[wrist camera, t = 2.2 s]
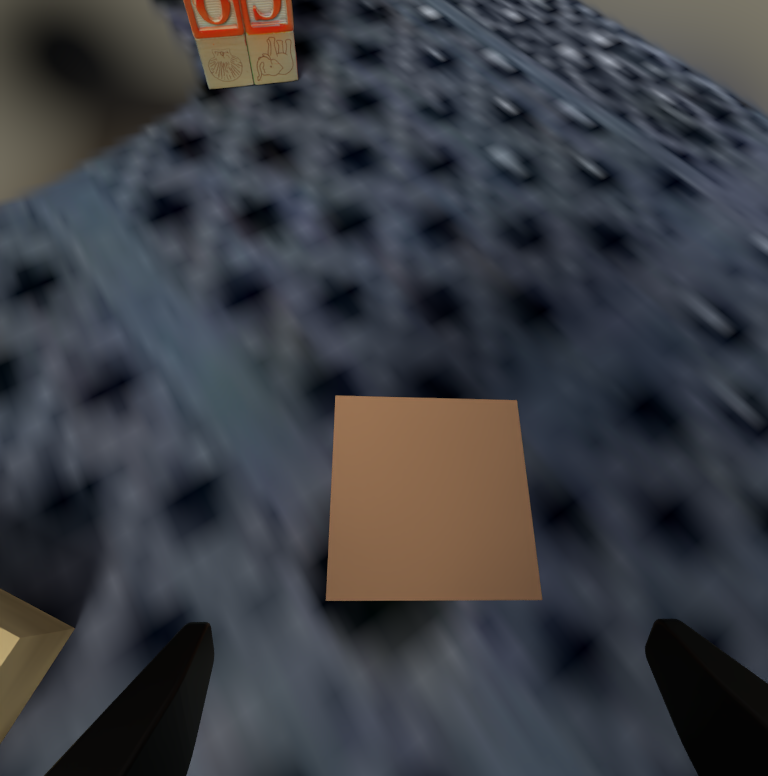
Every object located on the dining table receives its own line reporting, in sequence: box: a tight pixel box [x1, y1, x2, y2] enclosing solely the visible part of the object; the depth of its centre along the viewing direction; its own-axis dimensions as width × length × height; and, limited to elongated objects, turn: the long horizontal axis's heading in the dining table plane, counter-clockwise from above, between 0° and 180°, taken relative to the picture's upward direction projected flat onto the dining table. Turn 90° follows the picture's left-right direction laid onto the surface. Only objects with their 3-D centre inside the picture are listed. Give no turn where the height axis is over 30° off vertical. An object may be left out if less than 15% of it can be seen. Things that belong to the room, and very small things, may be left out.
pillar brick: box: [326, 396, 542, 601], centre depth 15 cm, size 4×4×10 cm
